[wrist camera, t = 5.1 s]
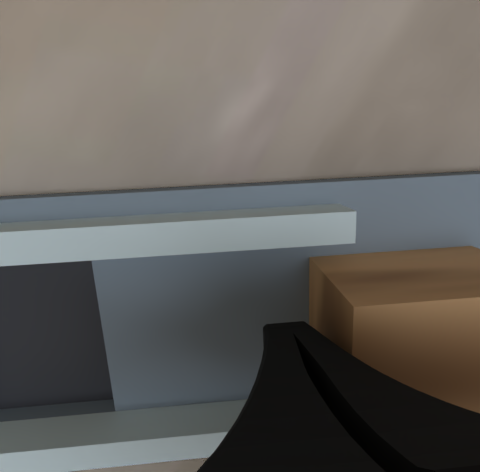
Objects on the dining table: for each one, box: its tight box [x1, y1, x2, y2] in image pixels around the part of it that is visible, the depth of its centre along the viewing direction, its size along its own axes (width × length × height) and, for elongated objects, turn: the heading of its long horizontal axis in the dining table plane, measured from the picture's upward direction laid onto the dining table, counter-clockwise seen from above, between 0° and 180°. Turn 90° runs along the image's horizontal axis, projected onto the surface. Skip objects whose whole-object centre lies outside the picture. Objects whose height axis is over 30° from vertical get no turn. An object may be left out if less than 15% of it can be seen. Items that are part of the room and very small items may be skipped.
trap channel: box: [0, 171, 480, 472], centre depth 12 cm, size 10×25×2 cm, turn 93°
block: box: [309, 246, 480, 413], centre depth 11 cm, size 4×6×4 cm
